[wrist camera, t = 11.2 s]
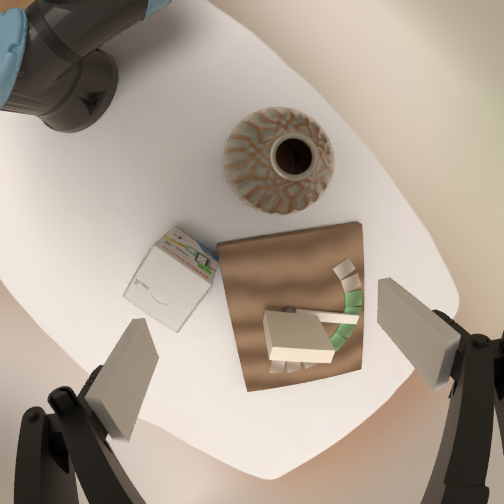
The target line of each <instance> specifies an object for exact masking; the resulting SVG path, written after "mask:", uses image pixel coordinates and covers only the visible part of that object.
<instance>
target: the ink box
mask: <svg viewBox="0 0 504 504" xmlns="http://www.w3.org/2000/svg"><path fill="white" fill-rule="evenodd" d="M218 260H219V259H218V256H216V255H215V254H213V253H212V252H211V251H209V250H208V249H206V248H205V247H204V246H202V245H201V244H199V243H198V242H196V241H195V240H194V239H192V238H191V237H190V236H188V235H187V234H185V233H184V232H183V231H181V230H180V229H178V228H177V227H174V228H172V229H171V230H170V231H169V232H168V233H166V234H165V235H164V236H163V237H162V238H161V239H159V240H158V241H157V242H156V243H155V244H154V245H153V246H152V247H151V249H150V250H149V252H148V253H147V255H146V256H145V258H144V259H143V261H142V262H141V264H140V266H139V267H138V269H137V271H136V272H135V274H134V276H133V278H132V279H131V281H130V283H129V285H128V287H127V288H126V290H125V292H124V294H123V297H124V298H125V299H127V300H128V301H129V302H131V303H132V304H134V305H135V306H137V307H138V308H139V309H141V310H142V311H144V312H145V313H147V314H148V315H150V316H151V317H153V318H154V319H156V320H157V321H159V322H160V323H162V324H163V325H165V326H166V327H168V328H170V329H171V330H173V331H174V332H176V333H178V332H179V331H180V329H181V328H182V327H183V325H184V324H185V323H186V321H187V320H188V318H189V317H190V316H191V314H192V313H193V312H194V310H195V309H196V307H197V306H198V305H199V303H200V302H201V301H202V299H203V298H204V296H205V295H206V294H207V292H208V291H209V289H210V288H211V286H212V283H213V279H214V275H215V271H216V267H217V263H218Z"/></svg>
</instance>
